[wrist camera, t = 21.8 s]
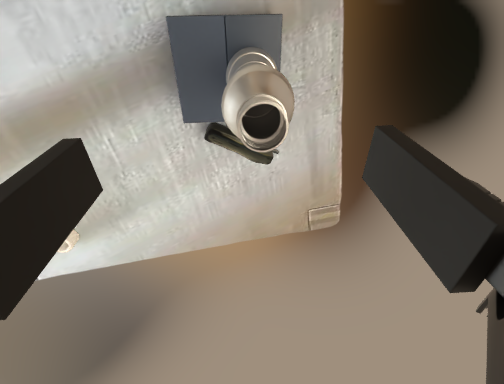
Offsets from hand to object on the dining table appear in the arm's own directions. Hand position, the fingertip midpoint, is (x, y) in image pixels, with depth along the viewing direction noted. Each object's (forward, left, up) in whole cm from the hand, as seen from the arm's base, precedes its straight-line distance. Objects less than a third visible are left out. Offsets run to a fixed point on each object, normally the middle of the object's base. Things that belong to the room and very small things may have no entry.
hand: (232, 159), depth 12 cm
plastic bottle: (+1, +2, -27) cm, 27 cm away
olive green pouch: (+15, +1, -38) cm, 41 cm away
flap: (+1, -5, -27) cm, 27 cm away
